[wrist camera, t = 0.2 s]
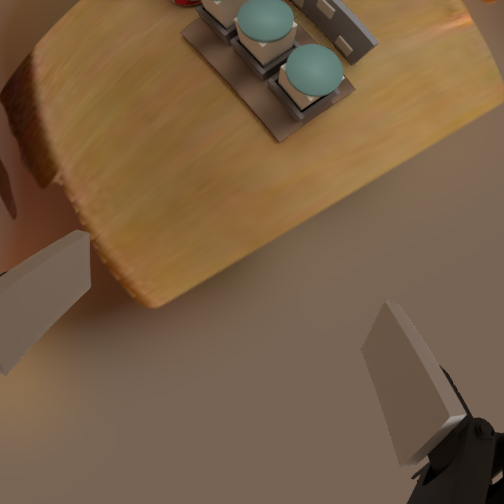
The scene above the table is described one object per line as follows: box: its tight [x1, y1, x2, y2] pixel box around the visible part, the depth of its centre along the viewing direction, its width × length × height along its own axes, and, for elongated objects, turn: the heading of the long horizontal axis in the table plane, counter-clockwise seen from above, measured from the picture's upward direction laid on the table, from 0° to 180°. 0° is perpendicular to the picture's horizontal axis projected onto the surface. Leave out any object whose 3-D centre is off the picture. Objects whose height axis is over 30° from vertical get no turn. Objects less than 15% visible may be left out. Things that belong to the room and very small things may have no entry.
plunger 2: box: [278, 44, 345, 111], centre depth 24 cm, size 5×5×9 cm
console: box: [180, 4, 356, 143], centre depth 28 cm, size 20×12×6 cm, turn 39°
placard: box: [290, 0, 379, 65], centre depth 24 cm, size 14×1×9 cm, turn 39°
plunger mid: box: [234, 0, 298, 68], centre depth 23 cm, size 5×5×9 cm
